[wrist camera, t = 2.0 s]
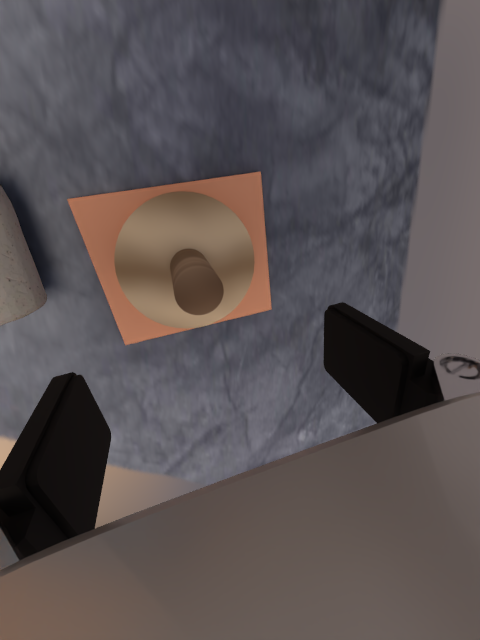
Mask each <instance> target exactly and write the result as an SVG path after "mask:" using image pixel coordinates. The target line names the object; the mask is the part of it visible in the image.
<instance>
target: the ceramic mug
mask: <svg viewBox="0 0 480 640" xmlns="http://www.w3.org/2000/svg"><path fill="white" fill-rule="evenodd" d="M46 300H47V295H46V292H45V290H44V287H43V285H42V282H41V279H40V277H39V274H38V271H37V268H36V266H35V263H34V261H33V258H32V256H31V253H30V251H29V248H28V246H27V243H26V241H25V238H24V236H23V233H22V230H21V227H20V224H19V221H18V218H17V215H16V213H15V211H14V208H13V206H12V204H11V201H10V200H9V198H8V196H7V195H6V193H5V191H4V190H3V188H2V186H1V185H0V326H1V325H3V324H5V323H8V322H11V321H15V320H18V319H20V318H23V317H25V316H27V315H28V314H30V313H32V312H34V311H36V310H37V309H39V308H40V307H42V306H43V305H44V304H45V303H46Z"/></svg>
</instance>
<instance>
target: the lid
mask: <svg viewBox="0 0 480 640" xmlns="http://www.w3.org/2000/svg"><path fill="white" fill-rule="evenodd" d="M254 263H255V262H254V250H253V245H252V242H251V238H250V236H249V234H248V231H247V229H246V228H245V226H244V224H243V223H242V221H241V220H240V219H239V218H238V216H237V215H236V214H235V213H234V212H233V211H232V210H231V209H230V208H228V207H227V206H226V205H224V204H223V203H222V202H220V201H218V200H216V199H214V198H212V197H209V196H207V195H204V194H200V193H195V192H185V191H179V192H170V193H165V194H161V195H159V196H156V197H154V198H152V199H150V200H148V201H146V202H145V203H143V204H142V205H141V206H140V207H138V208H137V209H136V210H135V211H134V212H133V213H132V214H131V215H130V216H129V218H128V219H127V220H126V222H125V223H124V225H123V227H122V229H121V231H120V233H119V235H118V239H117V242H116V247H115V253H114V264H115V271H116V275H117V279H118V282H119V284H120V287H121V289H122V291H123V292H124V294H125V296H126V297H127V299H128V300H129V301H130V303H131V304H132V305H133V306H134V307H135V308H136V309H137V310H138V311H139V312H141V313H142V314H143V315H145V316H146V317H148V318H149V319H151V320H153V321H155V322H157V323H160V324H162V325H166V326H169V327H174V328H186V329H187V328H197V327H203V326H206V325H209V324H212V323H214V322H216V321H218V320H220V319H222V318H224V317H225V316H227V315H228V314H229V313H231V312H232V311H233V310H234V309H235V308H236V307H237V306H238V305H239V303H240V302H241V301H242V299H243V298H244V296H245V295H246V293H247V291H248V289H249V287H250V284H251V281H252V277H253V273H254Z"/></svg>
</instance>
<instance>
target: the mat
mask: <svg viewBox="0 0 480 640" xmlns="http://www.w3.org/2000/svg"><path fill="white" fill-rule="evenodd" d="M179 191H185V192H195V193H200V194H204V195H207V196H209V197H212V198H214V199H216V200H218V201H220V202H222V203H223V204H224V205H226V206H227V207H228V208H230V209H231V210H232V211H233V212H234V213H235V214H236V215H237V216H238V218H239V219H240V220H241V221H242V223H243V224H244V226H245V228H246V229H247V231H248V234H249V236H250V238H251V242H252V245H253V250H254V262H255V263H254V273H253V277H252V281H251V284H250V287H249V289H248V291H247V293H246V295H245V296H244V298H243V299H242V301H241V302H240V303H239V305H238V306H237V307H236V308H235V309H234V310H233V311H232V312H231V313H229V314H228V315H227V316H225V317H224V318H222V319H220V320H218V321H216V322H214V323H218V322H222V321H226V320H230V319H235V318H239V317H243V316H247V315H251V314H255V313H259V312H263V311H267V310H271V297H270V284H269V271H268V258H267V245H266V232H265V220H264V207H263V194H262V181H261V172H254V173H247V174H240V175H233V176H226V177H219V178H212V179H205V180H198V181H191V182H184V183H177V184H170V185H163V186H156V187H149V188H142V189H135V190H128V191H121V192H114V193H107V194H99V195H92V196H85V197H78V198H71V199H67V200H68V202H69V205H70V207H71V210H72V213H73V215H74V218H75V220H76V223H77V225H78V228H79V230H80V233H81V235H82V238H83V240H84V243H85V245H86V248H87V250H88V253H89V255H90V258H91V260H92V263H93V265H94V268H95V270H96V273H97V275H98V278H99V280H100V283H101V285H102V288H103V290H104V293H105V295H106V298H107V300H108V303H109V305H110V308H111V310H112V313H113V315H114V318H115V320H116V323H117V325H118V328H119V330H120V333H121V335H122V338H123V340H124V343H125V345H128V344H132V343H136V342H140V341H144V340H148V339H153V338H157V337H161V336H165V335H169V334H173V333H177V332H181V331H185V330H189V329H194V328H187V329H186V328H174V327H169V326H166V325H162V324H160V323H157V322H155V321H153V320H151V319H149V318H148V317H146V316H145V315H143V314H142V313H141V312H139V311H138V310H137V309H136V308H135V307H134V306H133V305H132V304H131V303H130V301H129V300H128V299H127V297H126V296H125V294H124V292H123V291H122V289H121V287H120V284H119V282H118V279H117V275H116V271H115V264H114V253H115V247H116V242H117V239H118V235H119V233H120V231H121V229H122V227H123V225H124V223H125V222H126V220H127V219H128V218H129V216H130V215H131V214H132V213H133V212H134V211H135V210H136V209H137V208H138V207H140V206H141V205H142V204H143V203H145V202H146V201H148V200H150V199H152V198H154V197H156V196H159V195H161V194H165V193H170V192H179ZM214 323H212V324H214ZM209 325H210V324H209ZM197 328H198V327H197Z"/></svg>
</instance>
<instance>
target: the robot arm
mask: <svg viewBox="0 0 480 640" xmlns="http://www.w3.org/2000/svg"><path fill="white" fill-rule="evenodd" d="M429 353H430V351H429V350H427V349H425V348H424V347H422V346H420V345H418V344H417V343H415V342H413V341H411V340H410V339H408V338H406V337H404V336H403V335H401V334H399V333H397V332H395V331H394V330H392V329H390V328H388V327H387V326H385V325H383V324H381V323H379V322H378V321H376V320H374V319H372V318H371V317H369V316H367V315H365V314H363V313H362V312H360V311H358V310H356V309H355V308H353V307H351V306H349V305H347V304H346V303H343V302H342V303H338V304H334V305H330V306H329V307H328V309H327V310H326V311H325V314H324V367H325V369H326V371H327V372H328V373H329V374H330V375H331V376H332V377H333V378H334V379H335V380H336V381H337V383H338V384H339V385H340V386H341V387H342V388H343V389H344V390H345V391H346V392H347V393H348V394H349V395H350V396H351V397H352V398H353V399H354V400H355V401H356V402H357V403H358V404H359V405H360V406H361V407H362V408H363V409H364V410H365V411H366V412H367V413H368V414H369V415H370V416H371V417H372V418H373V419H374V420H375V421H376V422H377V424H374V425H372V426H369V427H366V428H363V429H361V430H358V431H355V432H352V433H350V434H347V435H344V436H341V437H339V438H336V439H333V440H330V441H327V442H325V443H322V444H319V445H317V446H314V447H311V448H308V449H306V450H303V451H300V452H298V453H295V454H292V455H289V456H287V457H284V458H281V459H279V460H276V461H273V462H270V463H268V464H265V465H262V466H260V467H257V468H254V469H251V470H249V471H246V472H243V473H241V474H238V475H235V476H233V477H230V478H227V479H224V480H222V481H219V482H216V483H214V484H211V485H208V486H206V487H203V488H200V489H198V490H195V491H192V492H190V493H187V494H184V495H182V496H179V497H177V498H174V499H171V500H169V501H166V502H163V503H160V504H158V505H155V506H153V507H150V508H147V509H145V510H142V511H139V512H137V513H134V514H131V515H129V516H126V517H124V518H121V519H119V520H116V521H113V522H111V523H108V524H106V525H103V526H101V527H98V528H96V529H94V528H95V523H96V517H97V512H98V506H99V501H100V496H101V490H102V485H103V480H104V474H105V469H106V464H107V458H108V453H109V448H110V442H111V432H110V429H109V426H108V425H107V423H106V421H105V419H104V417H103V415H102V413H101V411H100V409H99V407H98V405H97V403H96V401H95V399H94V397H93V395H92V393H91V391H90V389H89V387H88V385H87V383H86V382H85V380H84V378H83V376H82V375H76V374H75V373H73V372H72V373H68V374H64V375H60V376H56V377H53V379H52V380H51V382H50V384H49V385H48V387H47V389H46V391H45V392H44V394H43V396H42V398H41V399H40V401H39V403H38V405H37V406H36V408H35V410H34V412H33V413H32V415H31V417H30V419H29V420H28V422H27V424H26V426H25V427H24V429H23V431H22V433H21V434H20V436H19V438H18V440H17V441H16V443H15V445H14V447H13V448H12V450H11V452H10V454H9V456H8V457H7V459H6V461H5V463H4V464H3V466H2V468H1V470H0V640H480V360H478V359H476V358H473V357H470V356H467V355H461V354H451V353H448V354H441V355H439V356H437V357H436V358H435V359H434V361H432V360H430V359H429V358H428V357H429Z"/></svg>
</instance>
